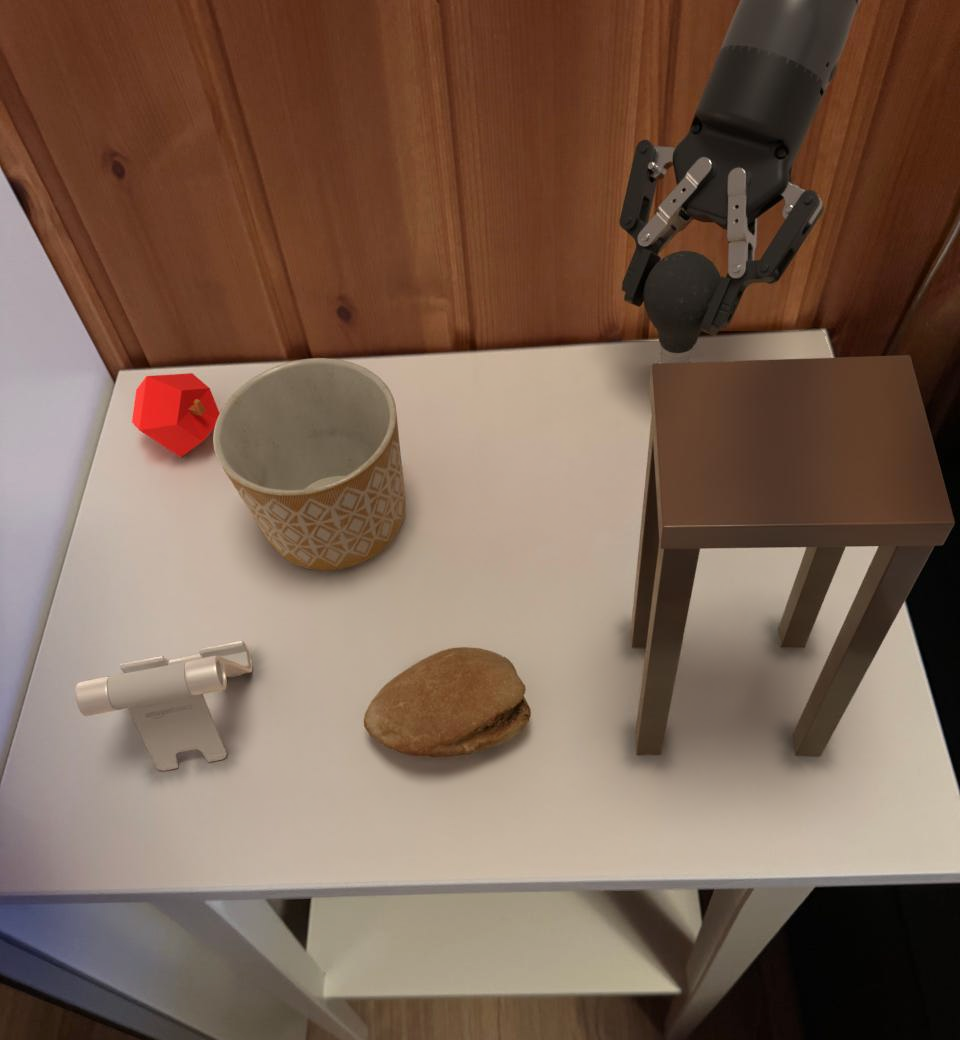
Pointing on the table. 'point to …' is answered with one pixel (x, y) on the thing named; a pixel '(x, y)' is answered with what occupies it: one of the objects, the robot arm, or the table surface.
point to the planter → (316, 460)
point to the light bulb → (679, 301)
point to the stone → (450, 705)
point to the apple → (175, 411)
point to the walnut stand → (785, 507)
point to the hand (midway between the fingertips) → (669, 317)
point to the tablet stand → (169, 699)
